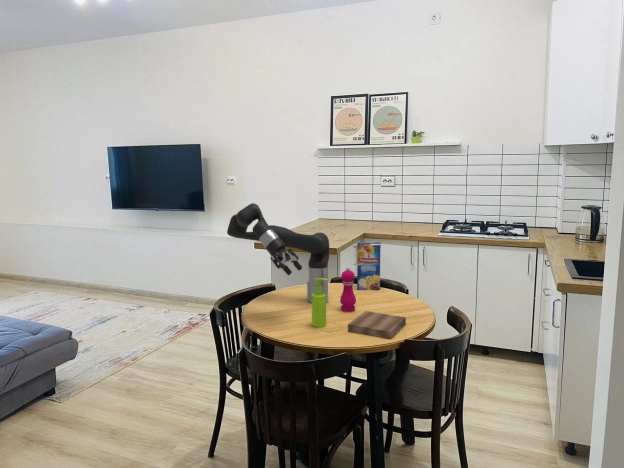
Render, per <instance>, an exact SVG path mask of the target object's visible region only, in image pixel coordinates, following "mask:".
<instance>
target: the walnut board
mask: <svg viewBox="0 0 624 468" xmlns="http://www.w3.org/2000/svg"><path fill="white" fill-rule="evenodd" d="M406 322H407V317H405V316H399V315H394V314H393V315H392V314H386V313H380V312H374V311H368V310H364V312H362V313H360V314H359V315H358V316H356V317H355V318H354V319H352V321H350V322H349V323H348V324H347V332H350V333H356V334H360V335H361V334H362V335H366V336H372V337H377V338H382V339H387V340H392V339H393V338H394V337H395V336H396V335H397V334H398V333H399V332H400V330H401V329H402V328H403V327H405V326H406Z"/></svg>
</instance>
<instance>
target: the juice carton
mask: <svg viewBox="0 0 624 468" xmlns="http://www.w3.org/2000/svg"><path fill="white" fill-rule="evenodd" d="M356 244H357V245H356V250H357V255H356V256H357V257H356V261H357V262H356V265H357V267H356V274H357V275H356V276H357V277H356V278H357V279H356V282H357V284H356V290H357V291H381V246H382V245H381V242H377V241H375V242H374V241H371V242H370V241H364V242H363V241H358V242H357V243H356Z"/></svg>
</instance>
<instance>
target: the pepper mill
mask: <svg viewBox="0 0 624 468" xmlns="http://www.w3.org/2000/svg"><path fill="white" fill-rule="evenodd" d="M340 278H341V280H342V285H343V290H342V293H341V295H340V300H339V303H340V304H341V305H340V307H341V308H340V310H341V311H342V312H346V313H349V312H350V313H351V312H354V311H355V310H356V306H355V305H356V302H357V298H356V295H355V293H354V289H353V287H354V286H353V285H354V280H355V273H354V271H353V270H351V267H349V266H347V267H346V268H345V270H344V271H342V273H341V277H340Z"/></svg>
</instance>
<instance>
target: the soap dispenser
mask: <svg viewBox="0 0 624 468" xmlns="http://www.w3.org/2000/svg"><path fill="white" fill-rule="evenodd" d="M315 281H317V285H316V286H315V293H314V294H312V303H311V325H312V327H314V328H318V329H319V328H325V327H326V326H327V302H326V294H325V293H323V286H322V285H321V281H328V282H329V278H328V279H326V278H316V279H315Z"/></svg>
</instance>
